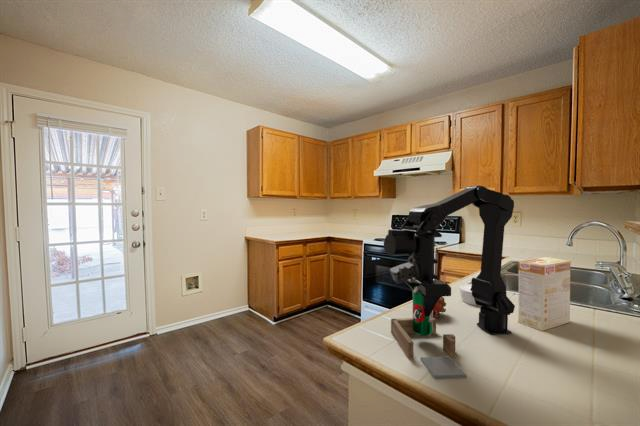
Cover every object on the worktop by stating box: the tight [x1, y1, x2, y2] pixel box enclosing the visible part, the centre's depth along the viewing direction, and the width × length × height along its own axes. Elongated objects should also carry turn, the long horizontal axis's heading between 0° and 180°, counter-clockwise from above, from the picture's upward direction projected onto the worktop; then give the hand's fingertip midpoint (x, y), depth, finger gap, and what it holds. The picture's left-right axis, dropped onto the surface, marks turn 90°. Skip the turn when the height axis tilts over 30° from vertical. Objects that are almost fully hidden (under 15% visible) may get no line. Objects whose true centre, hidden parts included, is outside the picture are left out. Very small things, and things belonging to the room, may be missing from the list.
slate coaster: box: [420, 356, 467, 379], centre depth 61 cm, size 7×7×1 cm
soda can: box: [412, 286, 434, 337], centre depth 73 cm, size 5×5×12 cm
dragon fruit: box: [433, 296, 447, 319], centre depth 91 cm, size 8×8×12 cm
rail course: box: [390, 317, 456, 360], centre depth 72 cm, size 13×14×4 cm
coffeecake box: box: [517, 256, 571, 332], centre depth 85 cm, size 15×7×20 cm, turn 113°
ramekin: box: [458, 283, 480, 307], centre depth 104 cm, size 11×11×5 cm
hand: (422, 312), depth 73 cm, fingers closed on soda can, 5 cm apart
